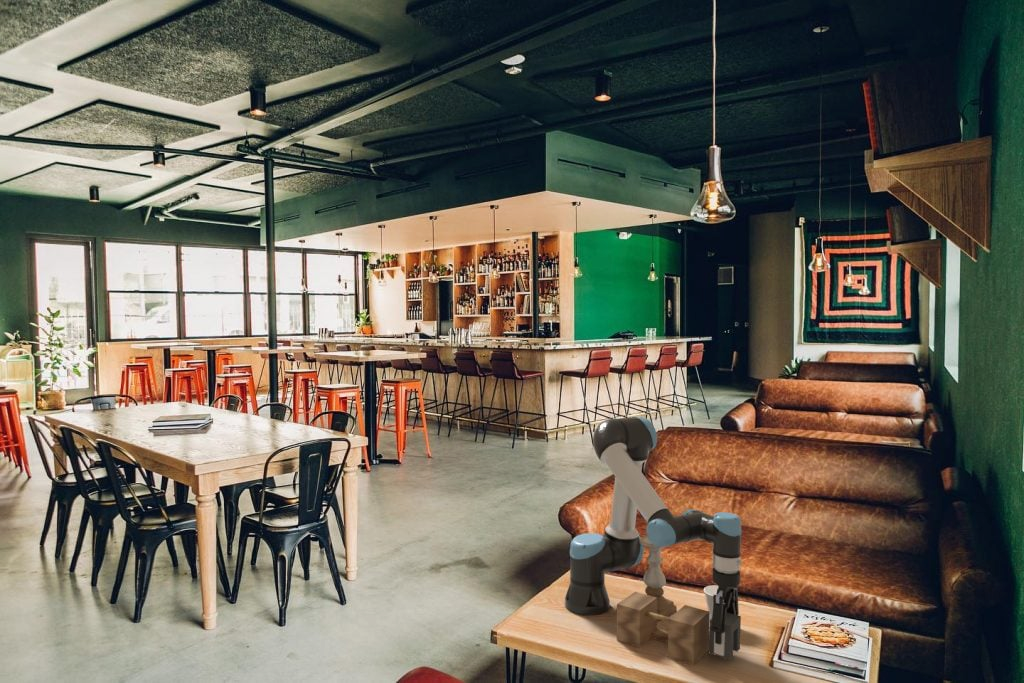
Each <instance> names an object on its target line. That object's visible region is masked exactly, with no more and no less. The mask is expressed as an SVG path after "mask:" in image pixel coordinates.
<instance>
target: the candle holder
mask: <svg viewBox="0 0 1024 683" xmlns="http://www.w3.org/2000/svg"><path fill="white" fill-rule="evenodd" d="M640 537H641V538H640V539H639V542H640V544H642V545H644V547H646V548H647V550H648V556H647V557H646V561H647V562H648V565H649V567H648V569H647V570H646V572H645V574H643V580H642V581H643V583H644V585H645V586H646V588H645V590H644V592H645V594H646V595H650V596H653V597H657V614H659V615H662V616H666V617H669V618H670V617H671V616H672V615H673V614H675V613H676V612H677V611H678V610H677V605H676V604H675V602H674V601H673V600H670V599H668V598H666V597H664V594H665V591H664V588H663V587H665V585H666V583H667V581H666V577H665V575H664V573H663V571H662V569H661V567H660V566H661V564H662V562H663V558H662V556H661V551H662V550H663V548H666V547H669V546H663V547H657V546H654V545H653V544H652V543H651V542H650V541H649V539H648V535H645V536H640ZM657 622H663V621H662V620H658V619H657Z"/></svg>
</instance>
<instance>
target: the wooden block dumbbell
mask: <svg viewBox="0 0 1024 683" xmlns="http://www.w3.org/2000/svg"><path fill="white" fill-rule="evenodd" d="M657 619H658V620H662V621H661V622H665V623H668V625H667V629H668V630H664V629H662V628H659V627H658V621H657ZM709 634H710V622H709V611H708V610H707V609H701V608H698V607H694V606H691V605H690V606H689V605H686V604H685V605H683V606H682V607H681V608H679V609H678V610H677V611H676V612H675V613H674V614H672V615H671V616H669V617H666V616H662V615H659V614H657V597H653V596H650V595H647V594H646V593H641V592H638V591H634V592H633V593H631V594H629V595H628V596H627V597H625V598H624V599H622V600H621V601H619V602H618V603H617V604H616V641H618V642H622V643H624V644H627V645H630V646H634V647H636V648H639V649H640V648H641V647H642V646H643V645H644V644H646V643H648V641H650V640H651V638H652V639H654V640H658V641H661V642H663V643H667V644H668V645H667V648H668V649H667V651H668V652H667V657H668V658H670V659H674V660H677V661H680V662H682V663H685V664H688V665H691V666H694V665H695V664H696V663H697V662H698V661H699V660H700V659H701V658H702V657H703V656H704V655H705V654H706V653H707V652H709Z"/></svg>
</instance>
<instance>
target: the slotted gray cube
mask: <svg viewBox="0 0 1024 683" xmlns="http://www.w3.org/2000/svg"><path fill="white" fill-rule="evenodd" d="M741 617H742V616H741V615H739V614H738V615H735V614H731V613H728V612H726V618H725V625H724V632H725V652H724V656H722V655H718V654H715V653H714V631H711V626H712V619H711V620H710V622H709V650H708V653H709V654H711V655H714V656H717V657H720V658H724V659H726V660H732V659H733V657H734V652H737V653H738V651H739V650H740V649H741V630H742V629H741V627H742V626H741V625H742V624H741V622H742V620H741V619H742V618H741Z"/></svg>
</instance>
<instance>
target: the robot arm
mask: <svg viewBox="0 0 1024 683" xmlns="http://www.w3.org/2000/svg"><path fill="white" fill-rule="evenodd" d="M657 433H658V432H657V430H656V428H655V427H654V424H653V423H652V421H650V420H649V419H648V418H646V417H641V416H640V417H638V416H632V417H631V416H630V417H624V418H623V417H622V418H620V417H619V418H608V419H605V420H603V421H602V422H600V423H599V424H598V426H597V427H596V428H595V430H594V432H593V437H592V444H593V449H594V450H593V451H595V454H596V456H597V458H598V459H599V461H600V463H601V464H603V465H606V466H607V467H608V468H609V470H610V472H611V473H612V474H613V475H614V477H615V478H614V485H613V494H612V495H613V496H612V505H611V510H610V511H611V512H610V519H609V520H610V522H609V524H608V525H606V526H605V529H604V536H603V535H602V534H600V533H596V532H591V533H589V532H587V533H586V532H585V533H582V534H578V535H576V536H575V537H574V538H572V540H571V542H570V547H569V548H570V549H569V557H570V558H569V564H570V565H569V572H570V574H569V578H570V579H569V585H568V587H567V590H566V594H565V598H564V607H565V608H566V609H567V610H568V611H570V612H572V613H575V614H579V615H585V616H587V615H588V616H593V615H594V616H595V615H600V614H604V613H606V612H607V611H609V609H610V602H611V601H610V598H609V595H608V591H607V588H606V584H605V574H606V573H610V572H614V571H619V570H624V569H625V570H626V569H630V568H632V567H635V566H637V565H639V564H640V562H641V561H642V560H643V557H644V551H645V548H644V547H645V546H644V545H642V544H640V542H639V539H640V538H641V537H642V536H640V535H639V531H638V529H636V520H637V511H638V512H639V513H640V514H641V516H642V517H643V518H644V520H645V521H646V523H647V525H646V530H645V531H646V536H648V539H649V541H650V542H651V543H652V544H653V545H654V546H657V547H663V546H668V547H670V546H674V545H678V544H681V543H688V542H692V541H699V540H701V541H704V542H708V543H709V544H712V567H713V568H712V572H711V573H712V579H711V580H712V582H713V583H714V584H716V585H717V586H718V589H717V595H714V596H713V614H712V626H711V631H714V653H715V654H718V655H722V656H724V652H725V632H724V625H725V618H726V612H728V613H731V614H735V615H738V616H739V596H738V595H739V592H738V590H739V585H740V584H741V571H740V570H741V565H742V564H743V560H741V554H742V553H741V547H742V546H741V545H742V544H741V543H742V533H743V532H742V531H743V529H742V520H741V518H740V516H739V515H737V514H735V513H732V512H726V511H719V512H716V513H714V515H711V514H708V513H705V512H702V511H701V510H699V509H692V508H689V509H685V511H684V512H682V513H681V515H677V516H676V515H674V514H673V513H672V512H671V510H670V509H669V508H668V507H667V505H666V504H665V502H664V501H663V500H662V498H661V497H660V495H659V494H658V493H657V492H656V490H655V489H654V488H653V486H652V485H651V483H650V481H649V480H648V479H647V478H646V476H645V475H644V474H643V471H642V469H643V463H644V462H646V461H648V456H649V452H651V451H652V450H654V448H656V447H657V443H658V434H657ZM723 603H725V604H723Z"/></svg>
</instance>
